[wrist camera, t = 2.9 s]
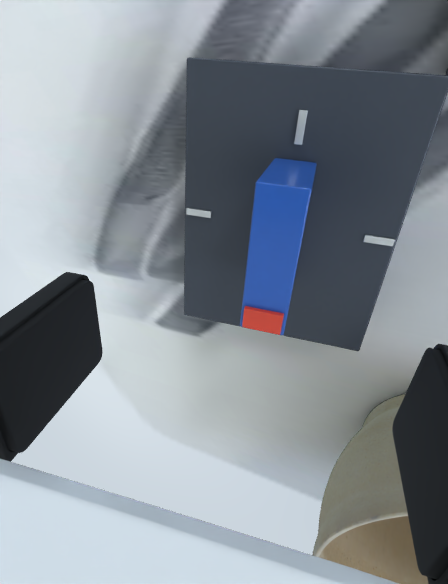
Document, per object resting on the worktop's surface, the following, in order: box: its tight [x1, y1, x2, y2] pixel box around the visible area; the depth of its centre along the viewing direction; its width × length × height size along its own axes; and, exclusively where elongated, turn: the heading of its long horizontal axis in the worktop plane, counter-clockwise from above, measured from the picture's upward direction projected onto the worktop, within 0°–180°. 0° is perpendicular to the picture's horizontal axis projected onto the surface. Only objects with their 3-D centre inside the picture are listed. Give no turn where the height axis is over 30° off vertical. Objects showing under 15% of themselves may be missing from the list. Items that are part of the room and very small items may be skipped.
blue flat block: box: [240, 158, 317, 335], centre depth 16 cm, size 6×2×5 cm, turn 176°
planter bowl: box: [313, 394, 428, 584], centre depth 23 cm, size 16×16×11 cm
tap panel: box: [184, 58, 448, 351], centre depth 20 cm, size 14×11×4 cm
